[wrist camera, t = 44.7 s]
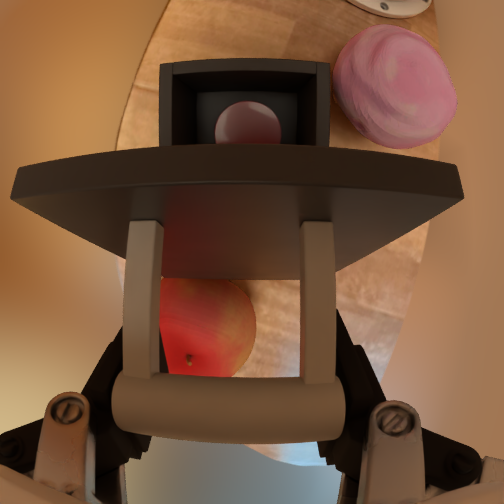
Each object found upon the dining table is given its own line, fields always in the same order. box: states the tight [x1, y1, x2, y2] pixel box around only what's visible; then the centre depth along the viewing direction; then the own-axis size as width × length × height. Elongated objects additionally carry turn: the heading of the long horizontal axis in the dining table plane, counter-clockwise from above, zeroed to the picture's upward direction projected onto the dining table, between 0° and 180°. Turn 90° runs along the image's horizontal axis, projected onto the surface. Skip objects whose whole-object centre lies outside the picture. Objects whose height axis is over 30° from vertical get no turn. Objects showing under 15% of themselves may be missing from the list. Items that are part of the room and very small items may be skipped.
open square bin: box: [159, 58, 330, 147], centre depth 20 cm, size 13×10×8 cm
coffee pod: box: [214, 100, 282, 144], centre depth 20 cm, size 4×4×4 cm
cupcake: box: [332, 24, 457, 149], centre depth 17 cm, size 9×9×10 cm
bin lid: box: [10, 144, 464, 444], centre depth 11 cm, size 13×10×6 cm
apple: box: [159, 277, 256, 377], centre depth 24 cm, size 10×10×10 cm
